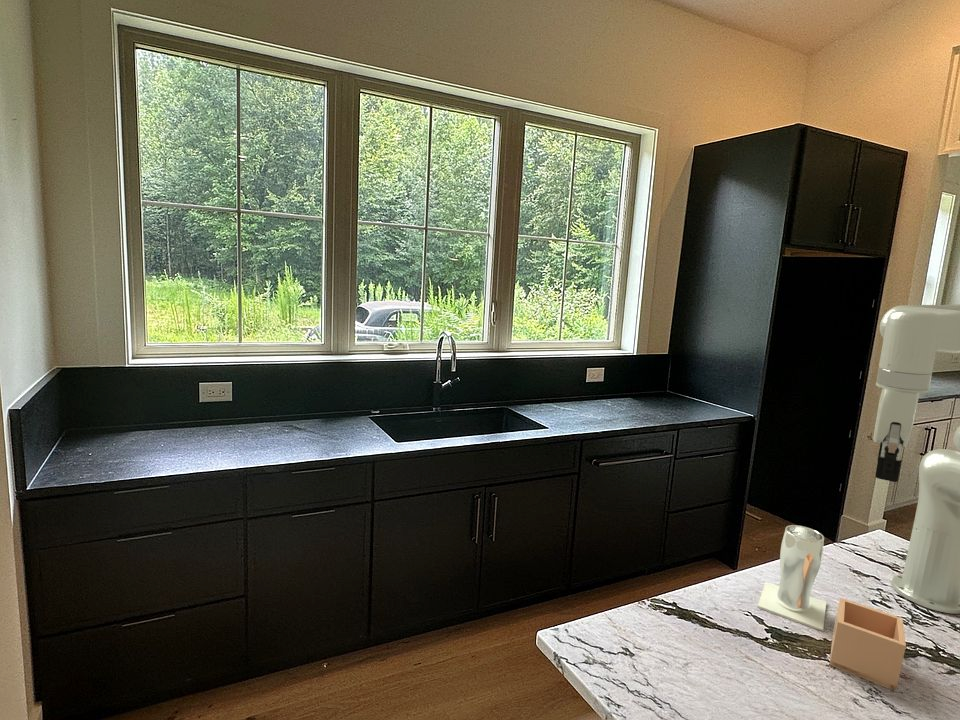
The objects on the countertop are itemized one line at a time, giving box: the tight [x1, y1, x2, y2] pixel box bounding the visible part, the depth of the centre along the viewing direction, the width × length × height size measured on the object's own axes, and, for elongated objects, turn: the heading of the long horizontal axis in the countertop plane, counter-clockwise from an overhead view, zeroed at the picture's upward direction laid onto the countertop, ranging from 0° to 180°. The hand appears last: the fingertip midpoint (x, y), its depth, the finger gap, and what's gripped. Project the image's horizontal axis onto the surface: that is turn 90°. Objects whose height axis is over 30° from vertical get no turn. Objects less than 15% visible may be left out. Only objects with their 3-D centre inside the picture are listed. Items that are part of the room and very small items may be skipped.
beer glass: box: [775, 524, 825, 612], centre depth 107 cm, size 7×7×15 cm
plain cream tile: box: [756, 581, 827, 632], centre depth 108 cm, size 11×11×1 cm
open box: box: [829, 597, 907, 692], centre depth 92 cm, size 9×9×8 cm
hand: (886, 471), depth 100 cm, fingers open, 9 cm apart
